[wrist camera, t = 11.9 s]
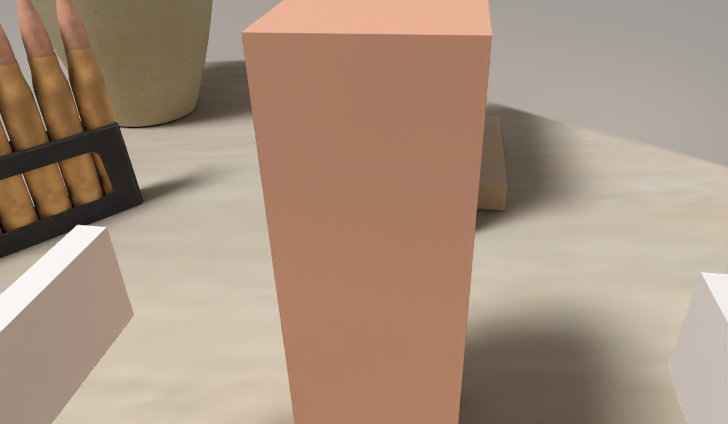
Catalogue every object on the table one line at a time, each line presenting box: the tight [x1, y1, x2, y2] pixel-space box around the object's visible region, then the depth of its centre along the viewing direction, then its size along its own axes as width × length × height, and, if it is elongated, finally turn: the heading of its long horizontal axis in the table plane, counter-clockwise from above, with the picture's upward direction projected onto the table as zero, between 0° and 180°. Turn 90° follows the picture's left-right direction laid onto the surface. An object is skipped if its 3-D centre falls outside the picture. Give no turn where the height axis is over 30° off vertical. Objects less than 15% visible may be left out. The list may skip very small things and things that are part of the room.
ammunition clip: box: [0, 0, 143, 258], centre depth 28 cm, size 11×2×12 cm, turn 133°
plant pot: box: [30, 0, 212, 127], centre depth 42 cm, size 15×15×16 cm
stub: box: [241, 0, 492, 424], centre depth 15 cm, size 6×4×14 cm, turn 171°
